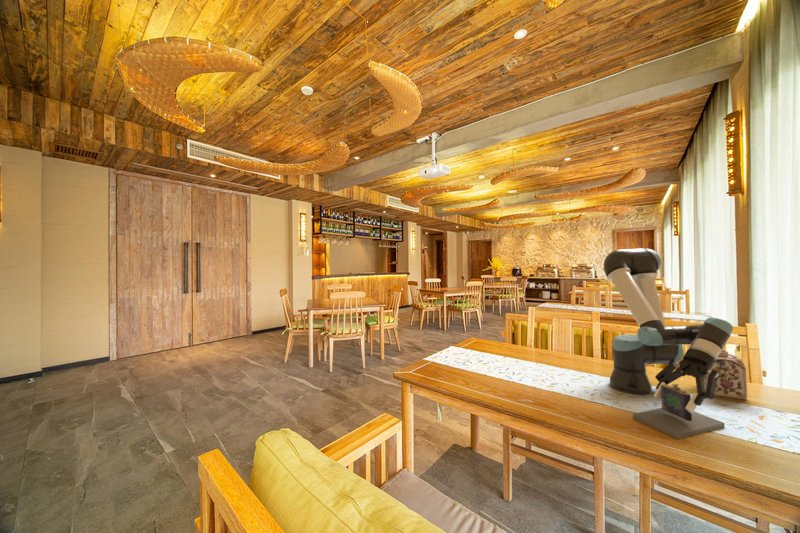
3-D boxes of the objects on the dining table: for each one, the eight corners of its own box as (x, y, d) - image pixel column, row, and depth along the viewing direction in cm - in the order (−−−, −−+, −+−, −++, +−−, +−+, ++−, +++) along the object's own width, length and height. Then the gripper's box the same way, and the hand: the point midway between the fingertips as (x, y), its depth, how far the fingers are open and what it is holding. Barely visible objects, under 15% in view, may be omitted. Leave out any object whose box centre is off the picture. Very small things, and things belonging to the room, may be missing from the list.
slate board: (633, 418, 107) (633, 414, 107) (676, 408, 113) (676, 404, 113) (677, 439, 94) (677, 434, 94) (724, 427, 99) (724, 422, 99)
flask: (659, 408, 108) (658, 379, 108) (666, 407, 108) (665, 378, 108) (687, 421, 99) (686, 390, 99) (695, 420, 99) (694, 389, 99)
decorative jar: (748, 400, 117) (746, 356, 117) (707, 394, 123) (705, 352, 123) (735, 389, 127) (733, 348, 127) (697, 384, 133) (696, 345, 133)
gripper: (748, 370, 97) (717, 426, 93) (672, 352, 118) (644, 397, 114) (737, 356, 96) (705, 412, 92) (662, 341, 117) (634, 386, 113)
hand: (671, 404), depth 103 cm, fingers closed on flask, 9 cm apart
